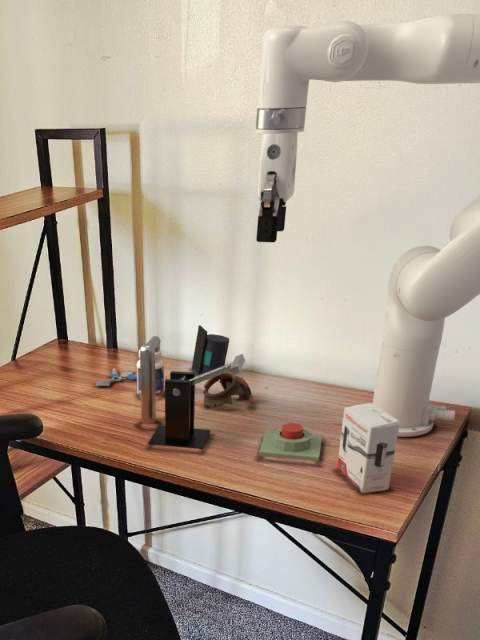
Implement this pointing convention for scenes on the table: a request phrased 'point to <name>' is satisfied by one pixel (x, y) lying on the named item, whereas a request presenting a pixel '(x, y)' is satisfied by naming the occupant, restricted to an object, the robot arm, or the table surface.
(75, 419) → the table surface
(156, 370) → the pill bottle
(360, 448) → the ink box
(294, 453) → the button housing
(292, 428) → the button
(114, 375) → the key chain
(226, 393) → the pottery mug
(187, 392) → the black lever stand
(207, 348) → the speaker
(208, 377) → the tap lever
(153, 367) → the spout
